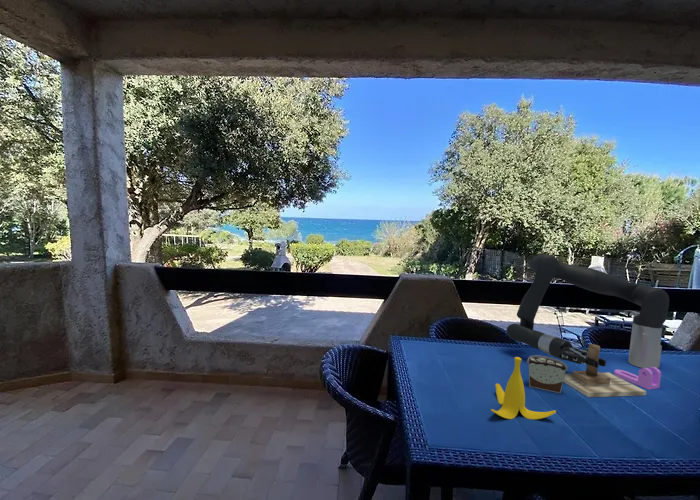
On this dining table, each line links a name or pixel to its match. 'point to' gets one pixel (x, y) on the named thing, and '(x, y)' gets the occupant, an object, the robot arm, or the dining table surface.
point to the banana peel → (516, 398)
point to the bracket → (642, 377)
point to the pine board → (606, 387)
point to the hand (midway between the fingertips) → (601, 364)
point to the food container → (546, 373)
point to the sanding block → (592, 371)
